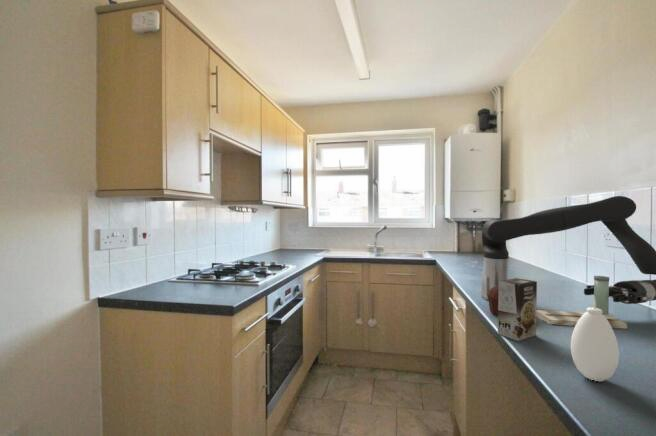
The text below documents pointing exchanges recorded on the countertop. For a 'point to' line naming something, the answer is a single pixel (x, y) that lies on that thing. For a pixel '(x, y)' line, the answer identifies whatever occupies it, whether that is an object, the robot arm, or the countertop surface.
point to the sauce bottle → (594, 345)
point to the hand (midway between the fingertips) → (599, 295)
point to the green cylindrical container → (602, 295)
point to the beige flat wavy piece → (571, 318)
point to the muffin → (493, 299)
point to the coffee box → (517, 308)
